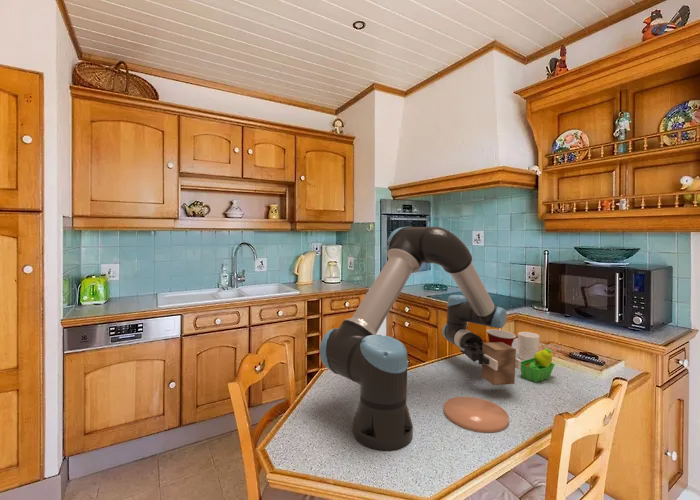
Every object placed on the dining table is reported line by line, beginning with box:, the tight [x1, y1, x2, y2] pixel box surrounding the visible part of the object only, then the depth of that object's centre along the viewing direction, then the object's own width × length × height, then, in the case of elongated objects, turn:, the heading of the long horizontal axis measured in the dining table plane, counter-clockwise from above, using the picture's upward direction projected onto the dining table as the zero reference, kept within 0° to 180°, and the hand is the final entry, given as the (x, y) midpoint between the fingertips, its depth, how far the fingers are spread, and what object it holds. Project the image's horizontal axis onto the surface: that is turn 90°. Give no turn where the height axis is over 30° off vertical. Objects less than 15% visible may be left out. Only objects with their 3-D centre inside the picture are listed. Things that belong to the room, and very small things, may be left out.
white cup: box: [517, 331, 540, 361], centre depth 141 cm, size 8×8×10 cm
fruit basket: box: [519, 348, 556, 383], centre depth 122 cm, size 11×9×11 cm
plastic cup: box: [486, 328, 517, 347], centre depth 137 cm, size 11×11×12 cm
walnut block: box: [480, 342, 517, 386], centre depth 109 cm, size 7×7×11 cm
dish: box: [443, 396, 510, 434], centre depth 96 cm, size 17×17×1 cm
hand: (508, 365), depth 104 cm, fingers closed on walnut block, 7 cm apart
